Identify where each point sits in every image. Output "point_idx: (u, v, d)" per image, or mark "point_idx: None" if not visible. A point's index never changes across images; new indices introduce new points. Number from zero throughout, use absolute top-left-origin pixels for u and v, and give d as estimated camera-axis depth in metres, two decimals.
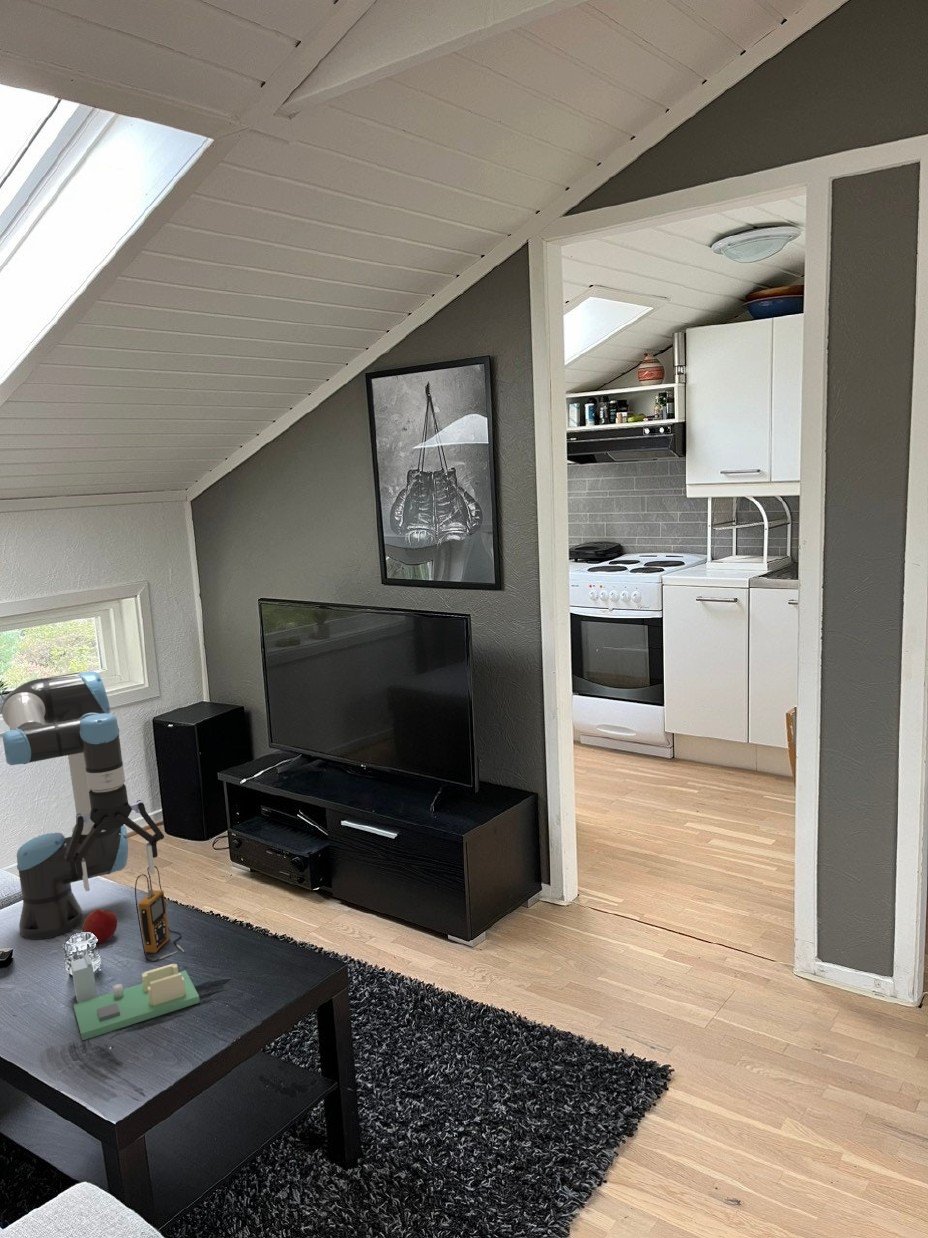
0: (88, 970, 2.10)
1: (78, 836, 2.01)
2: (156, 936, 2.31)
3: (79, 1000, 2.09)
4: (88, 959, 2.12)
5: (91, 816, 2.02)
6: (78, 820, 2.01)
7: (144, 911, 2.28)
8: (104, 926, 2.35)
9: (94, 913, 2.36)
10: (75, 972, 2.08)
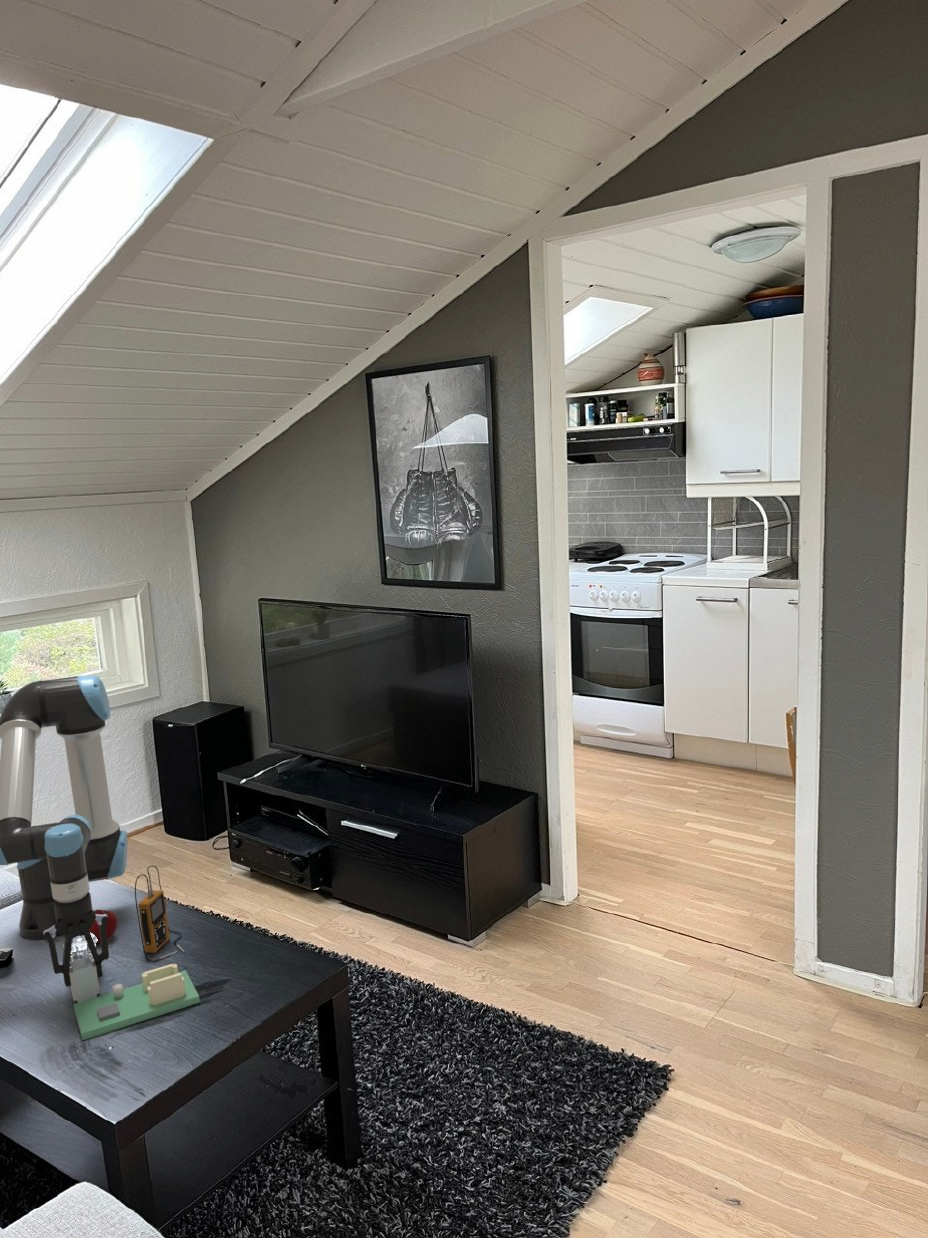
0: (88, 969, 2.10)
1: (54, 949, 2.07)
2: (156, 936, 2.31)
3: (79, 1000, 2.09)
4: (88, 959, 2.12)
5: (55, 927, 2.07)
6: (45, 937, 2.06)
7: (144, 911, 2.28)
8: None
9: None
10: (75, 972, 2.08)
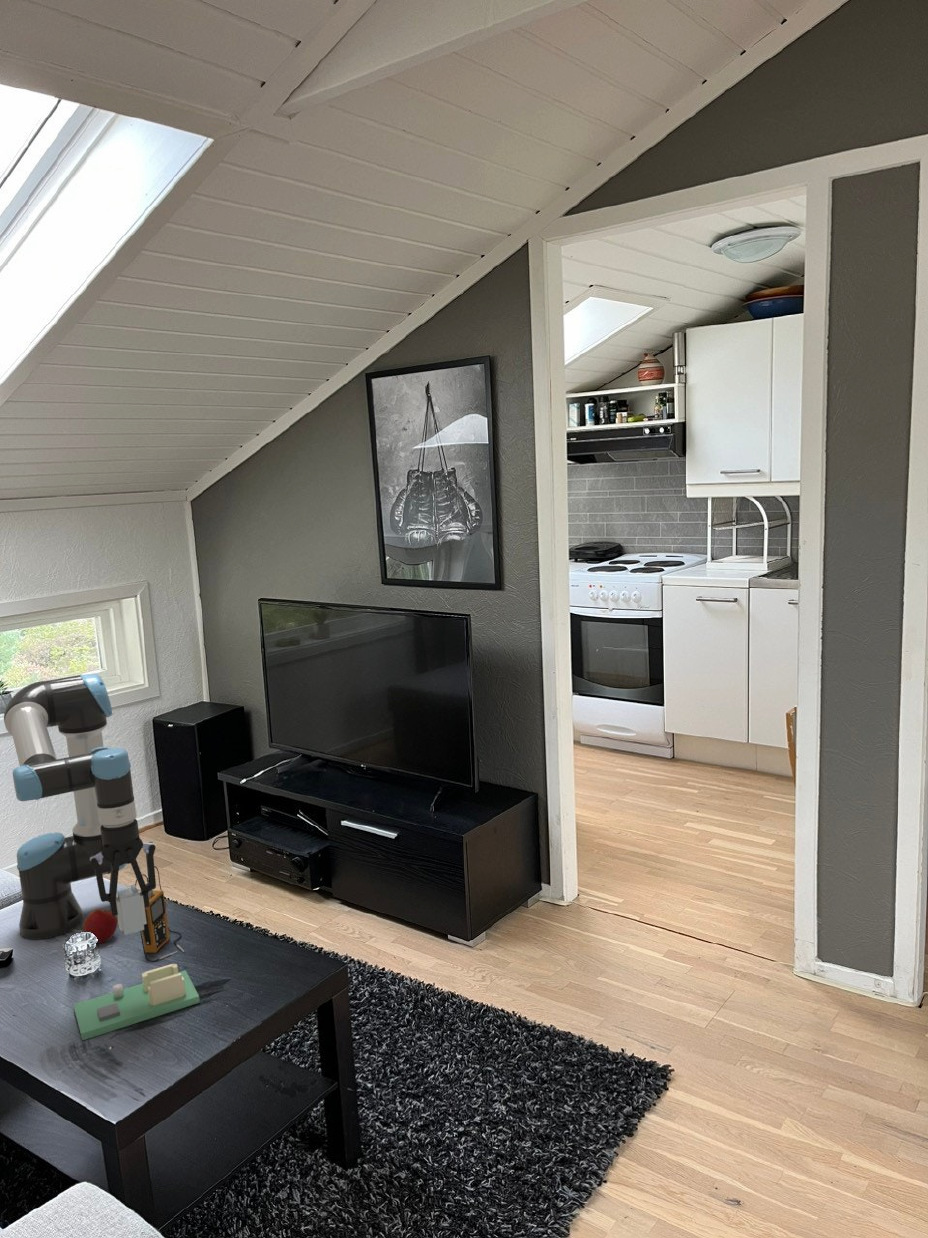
0: (135, 898, 2.04)
1: (100, 876, 2.02)
2: (156, 936, 2.31)
3: (126, 929, 2.04)
4: (135, 889, 2.06)
5: (102, 854, 2.02)
6: (92, 863, 2.01)
7: None
8: (104, 926, 2.35)
9: (94, 913, 2.36)
10: (122, 900, 2.03)
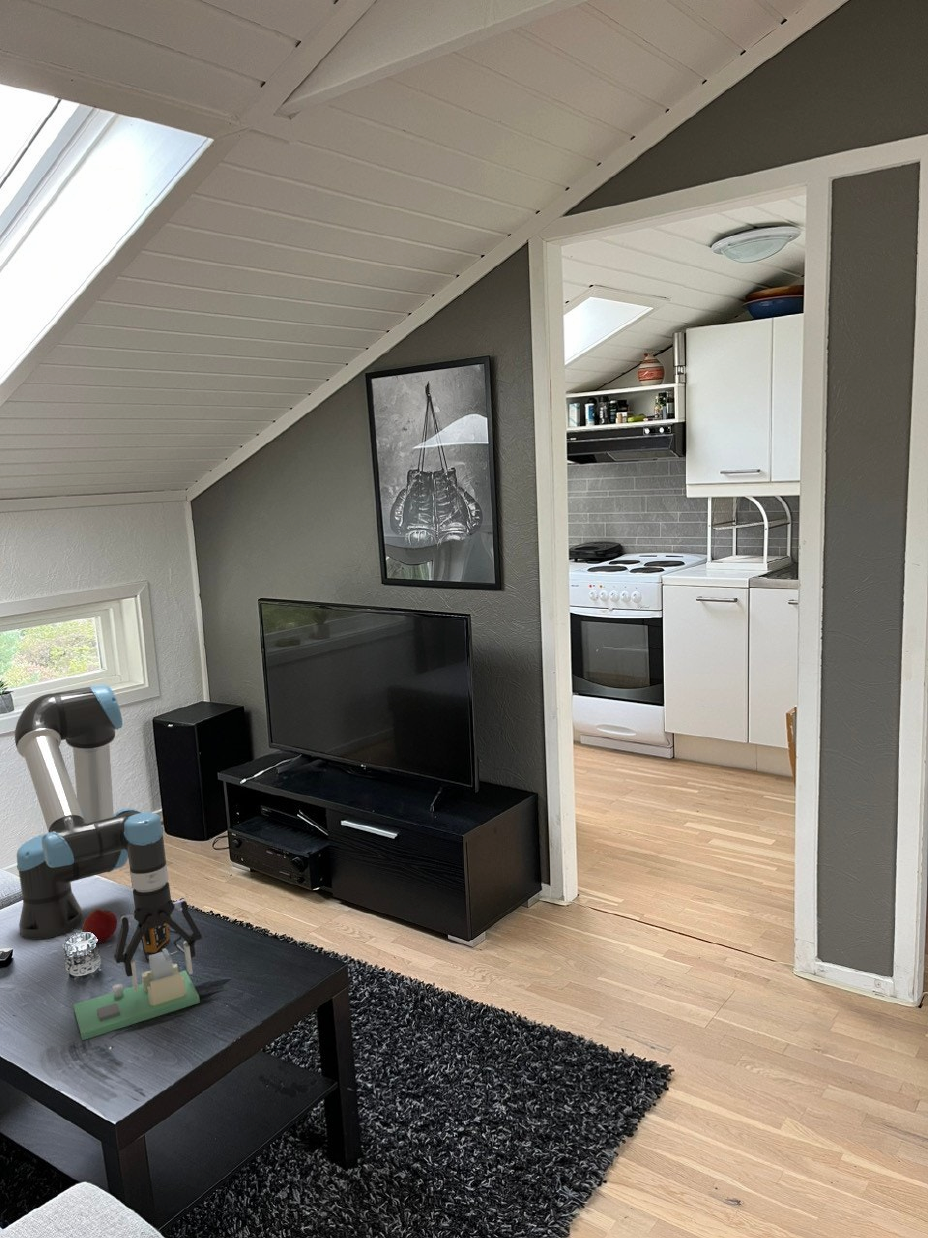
0: (168, 963, 2.07)
1: (125, 937, 2.03)
2: (156, 936, 2.31)
3: None
4: (167, 953, 2.09)
5: (135, 916, 2.04)
6: (123, 922, 2.02)
7: None
8: (104, 926, 2.35)
9: (94, 913, 2.36)
10: (155, 966, 2.05)
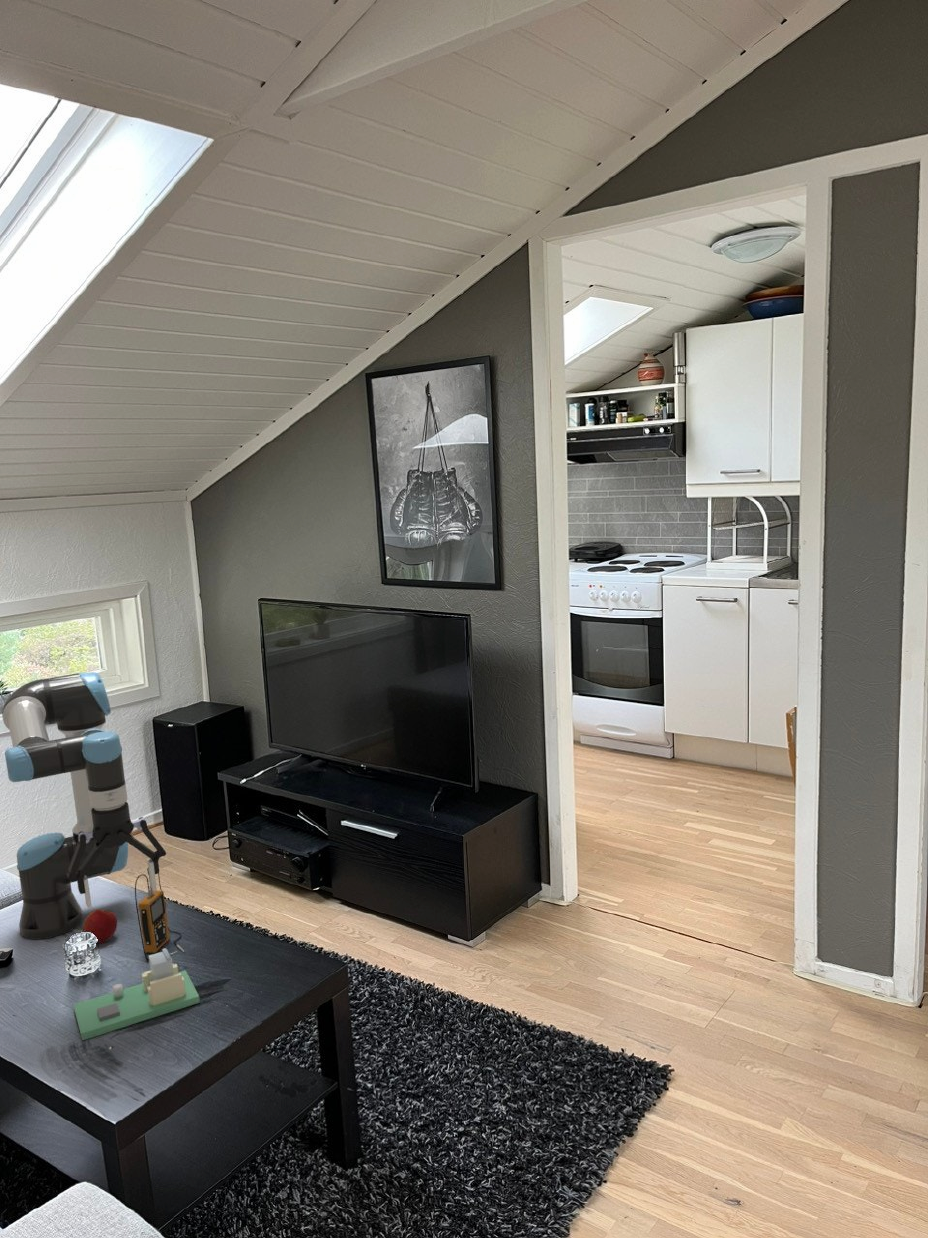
0: (168, 963, 2.07)
1: (80, 854, 2.01)
2: (156, 936, 2.31)
3: None
4: (167, 953, 2.09)
5: (93, 834, 2.02)
6: (81, 838, 2.01)
7: (144, 911, 2.28)
8: (104, 926, 2.35)
9: (94, 913, 2.36)
10: (155, 966, 2.05)
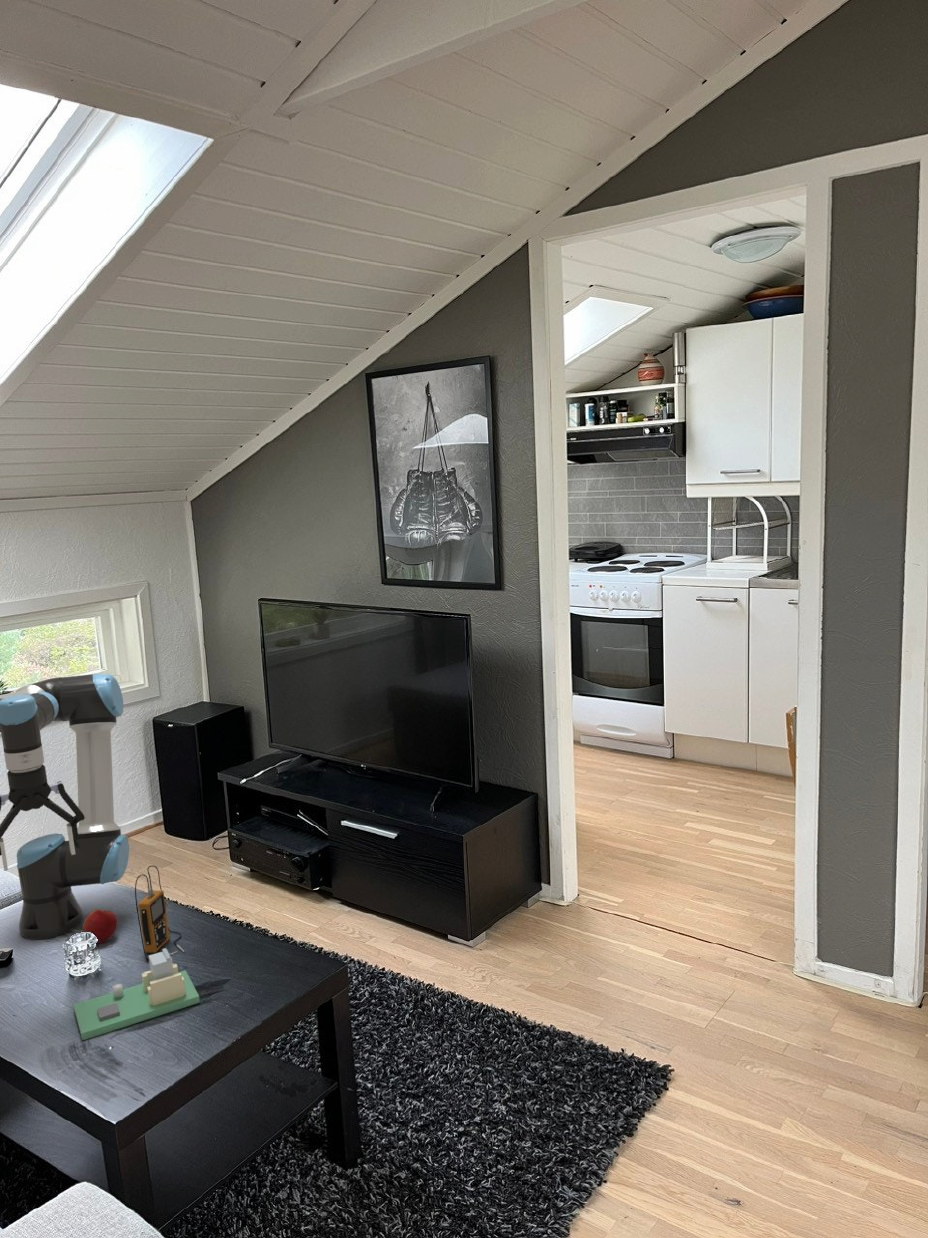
0: (168, 963, 2.07)
1: None
2: (156, 936, 2.31)
3: None
4: (167, 953, 2.09)
5: (9, 796, 2.04)
6: None
7: (144, 911, 2.28)
8: (104, 926, 2.35)
9: (94, 913, 2.36)
10: (155, 966, 2.05)
